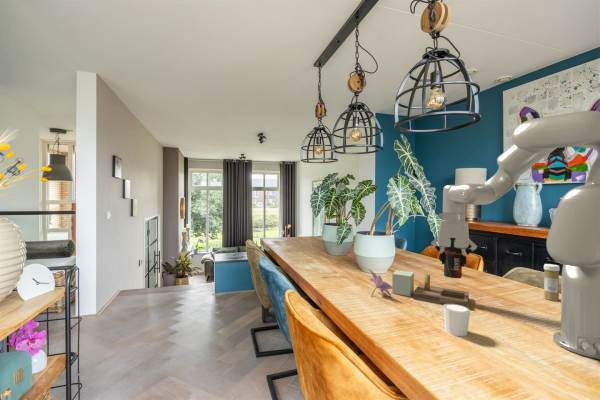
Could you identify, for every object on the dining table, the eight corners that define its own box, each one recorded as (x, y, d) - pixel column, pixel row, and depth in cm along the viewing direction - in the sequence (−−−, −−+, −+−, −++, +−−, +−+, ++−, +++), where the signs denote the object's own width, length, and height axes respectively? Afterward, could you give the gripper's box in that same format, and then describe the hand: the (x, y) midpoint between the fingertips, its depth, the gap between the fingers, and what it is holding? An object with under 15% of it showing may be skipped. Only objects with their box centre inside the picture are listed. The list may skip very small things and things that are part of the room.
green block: (410, 296, 111) (410, 276, 110) (392, 293, 114) (392, 273, 114) (413, 291, 116) (414, 272, 116) (396, 288, 120) (396, 270, 120)
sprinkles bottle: (560, 300, 108) (561, 265, 108) (557, 302, 106) (557, 266, 106) (545, 296, 112) (546, 263, 112) (541, 298, 110) (542, 264, 110)
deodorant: (452, 278, 103) (453, 238, 103) (440, 274, 109) (441, 236, 109) (465, 277, 105) (466, 237, 104) (452, 273, 110) (453, 235, 110)
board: (467, 309, 98) (467, 285, 98) (413, 298, 108) (413, 277, 108) (468, 298, 109) (469, 276, 109) (419, 289, 119) (419, 270, 119)
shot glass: (445, 324, 86) (445, 301, 86) (471, 331, 82) (471, 307, 82) (440, 332, 81) (440, 308, 81) (467, 340, 76) (467, 314, 76)
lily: (393, 305, 104) (401, 281, 107) (364, 291, 105) (372, 268, 108) (383, 303, 115) (391, 281, 118) (357, 291, 117) (365, 270, 119)
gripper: (427, 216, 108) (426, 263, 108) (480, 219, 98) (479, 270, 99) (430, 215, 114) (429, 259, 114) (480, 218, 105) (479, 266, 105)
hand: (452, 264), depth 106 cm, fingers closed on deodorant, 5 cm apart
